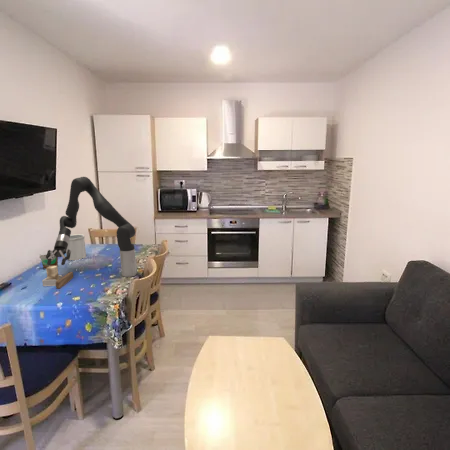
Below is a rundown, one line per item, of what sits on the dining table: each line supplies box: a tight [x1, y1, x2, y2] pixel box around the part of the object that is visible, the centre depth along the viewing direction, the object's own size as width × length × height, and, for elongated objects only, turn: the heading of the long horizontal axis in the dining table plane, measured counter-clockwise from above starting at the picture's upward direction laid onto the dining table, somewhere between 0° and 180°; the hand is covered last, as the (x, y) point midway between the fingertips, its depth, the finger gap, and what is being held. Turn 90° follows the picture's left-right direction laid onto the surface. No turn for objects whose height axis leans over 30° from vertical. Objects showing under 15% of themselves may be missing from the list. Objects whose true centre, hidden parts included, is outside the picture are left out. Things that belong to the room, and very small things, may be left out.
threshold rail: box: [55, 271, 74, 290], centre depth 198 cm, size 2×18×4 cm, turn 1°
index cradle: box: [41, 274, 63, 287], centre depth 198 cm, size 8×8×4 cm
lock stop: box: [45, 266, 60, 281], centre depth 197 cm, size 4×4×10 cm
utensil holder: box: [65, 233, 87, 261], centre depth 249 cm, size 15×15×18 cm
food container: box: [39, 254, 59, 270], centre depth 227 cm, size 12×6×10 cm, turn 105°
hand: (55, 265), depth 201 cm, fingers open, 8 cm apart
